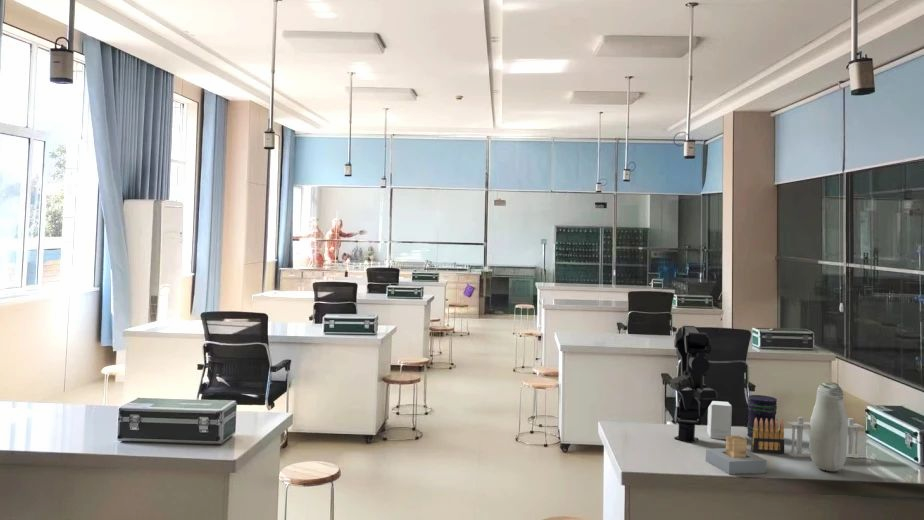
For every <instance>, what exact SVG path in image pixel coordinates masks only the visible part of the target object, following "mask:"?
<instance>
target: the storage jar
mask: <svg viewBox="0 0 924 520" xmlns="http://www.w3.org/2000/svg"><path fill="white" fill-rule="evenodd" d="M777 400H778V399H777V398H775V397H773V396H769V395H768V396H767V395H763V394H750V395H749V396H748V404H747V406H748V408H747V411H748V421H747V425H746V427H747V428H746V429H747V433H746V435H747V437H748V438H749V439H752V437H753V428H754V421H755V418H757V421H758V430H759V423H760V419H761V418H762V420H763V432H764V425H765V420H766V418H767V419H768V430H769V426H770V420H771V418H772V419H773V429H774V428H775V421H776V415H777V407H778V406H777V402H778V401H777Z"/></svg>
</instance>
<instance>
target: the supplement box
mask: <svg viewBox="0 0 924 520" xmlns="http://www.w3.org/2000/svg"><path fill="white" fill-rule="evenodd" d="M732 413H733V406H732V404H731V403H730V402H729V401H719V400H713V401H712V403H711V404H710V405H709V407H708V409H707V429H706V434H707V435H708V436H709V438H710V439H718V440H719V439H720V440H726V436H732V415H733V414H732Z"/></svg>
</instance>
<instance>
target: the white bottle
mask: <svg viewBox="0 0 924 520" xmlns="http://www.w3.org/2000/svg"><path fill="white" fill-rule="evenodd" d="M809 435H811V436H810V455H811V457H810V458H811V460H812V463H813V464H814V465H815V466H816V467H817V468H818V469H820V470H823V471H825V470H826V471H825V472H837V471H840V470H841V469H842V468H844V466H845V463H846V460H847V458H846V453H847V436H848V416H847V412H846V409H845V401H844V391H843V388H842V387H840V386H839V385H838V384H836V383H831V382H823V383H821V384H819V385H818V388H817V389H816V396H815V404H814V405H813V410H812V413H811V429H810V428H809Z"/></svg>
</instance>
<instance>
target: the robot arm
mask: <svg viewBox="0 0 924 520" xmlns="http://www.w3.org/2000/svg"><path fill="white" fill-rule="evenodd" d="M697 328H698V327H697V326H695V325H682V326H681V329H679V331H677V332H676V333H675V334H674V335H675V336H674V340H673V341H674V342H673V345H674V346H673V347H674V348H675V353H676V355H677V357H678V358H679V359H680V375H678V376H676V377H674V378H671V379H670V380H669V383H670V386H671V389H672V390H674V391H676V392H678V393H679V394H680V398H679V400H678V403H677V405H676V406H675V410H674V415H673V416H674V422H675V423H676V424H678V431H677V432H678V434H677V436H673V438H674V440H678V441H682V442H687V443H693V442H695V441H698V440H699V438H698V437H695V434H696V425H697V426H700V425H701V424H702V418H703V417H704V416H705V414H706V412H707V411H708V407H709V405H710V404H711V403H712V401H716V399H717V398H718V392H717V391H716V390H715V389H713V388H711V387H707V384H705V377H707V372H708V371H709V370H710V362H709V360H708V359H707V358H706V355H710V354H711V352H712V345H711V343H712V342H711V339H710V337H709V336H708V334H707V333H706V332H699V331H698V330H697Z"/></svg>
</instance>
